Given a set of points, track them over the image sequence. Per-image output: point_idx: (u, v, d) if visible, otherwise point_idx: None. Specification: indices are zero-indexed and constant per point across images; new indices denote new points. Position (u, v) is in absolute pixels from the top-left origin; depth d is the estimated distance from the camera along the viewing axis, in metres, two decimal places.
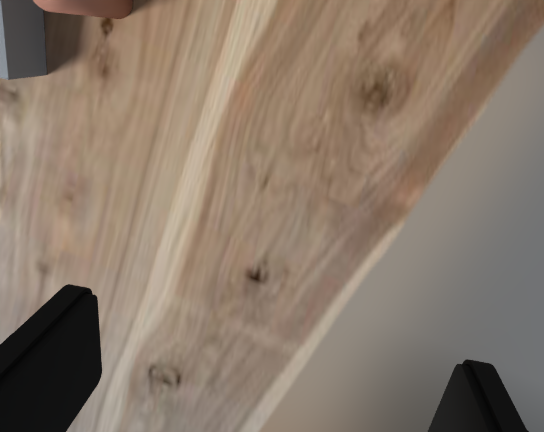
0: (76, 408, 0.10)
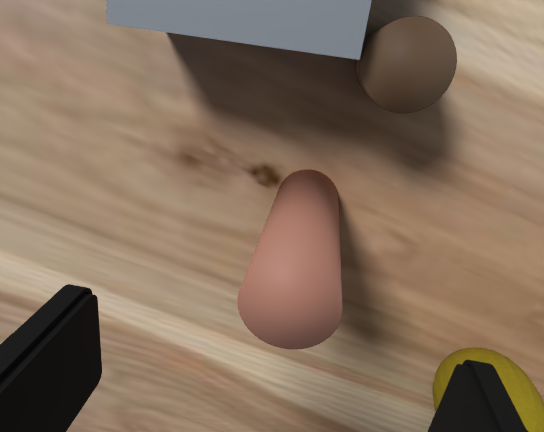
0: (76, 408, 0.10)
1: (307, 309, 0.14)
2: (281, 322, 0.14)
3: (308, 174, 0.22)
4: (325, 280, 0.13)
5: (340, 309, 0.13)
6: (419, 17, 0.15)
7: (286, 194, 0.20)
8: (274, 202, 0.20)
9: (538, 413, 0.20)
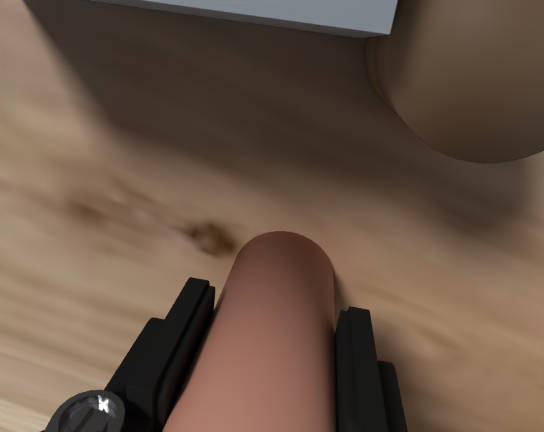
0: None
1: None
2: None
3: (281, 244, 0.13)
4: None
5: None
6: None
7: (234, 302, 0.10)
8: (215, 309, 0.11)
9: None
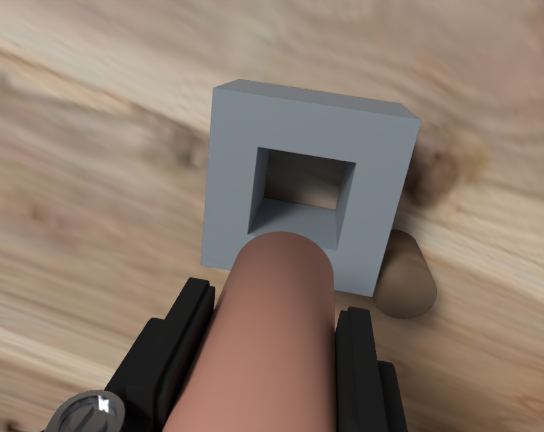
0: None
1: None
2: None
3: (281, 244, 0.13)
4: None
5: None
6: (411, 267, 0.23)
7: (233, 302, 0.10)
8: (214, 309, 0.11)
9: None
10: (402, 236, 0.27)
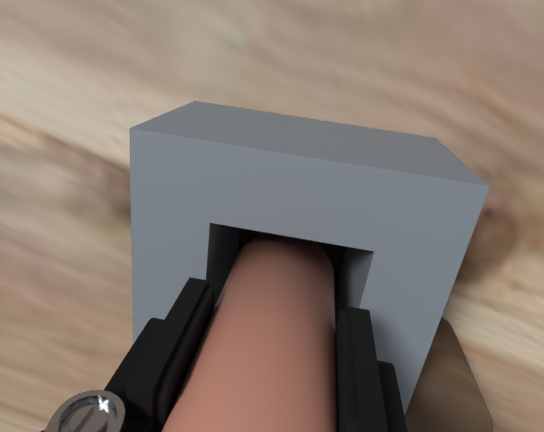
0: None
1: None
2: None
3: (281, 244, 0.13)
4: None
5: None
6: (456, 394, 0.15)
7: (233, 301, 0.10)
8: (214, 308, 0.11)
9: None
10: None
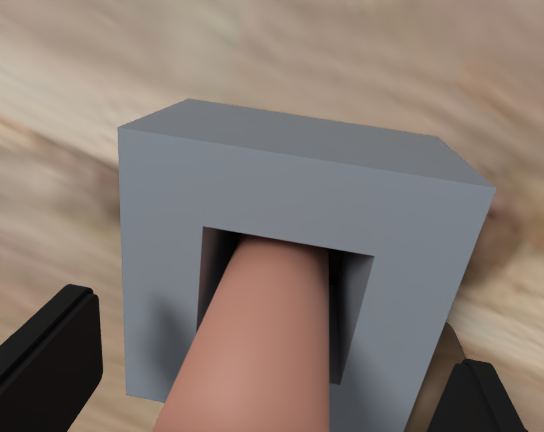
0: (77, 408, 0.10)
1: None
2: None
3: None
4: (298, 426, 0.07)
5: None
6: None
7: None
8: (238, 242, 0.15)
9: None
10: None
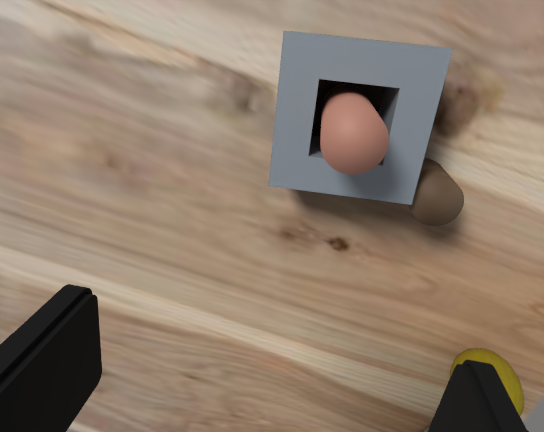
0: (76, 408, 0.10)
1: (366, 143, 0.21)
2: (348, 154, 0.22)
3: (347, 85, 0.30)
4: (378, 120, 0.21)
5: (387, 141, 0.21)
6: (443, 179, 0.28)
7: (335, 94, 0.27)
8: (325, 102, 0.28)
9: (515, 389, 0.33)
10: (431, 162, 0.31)
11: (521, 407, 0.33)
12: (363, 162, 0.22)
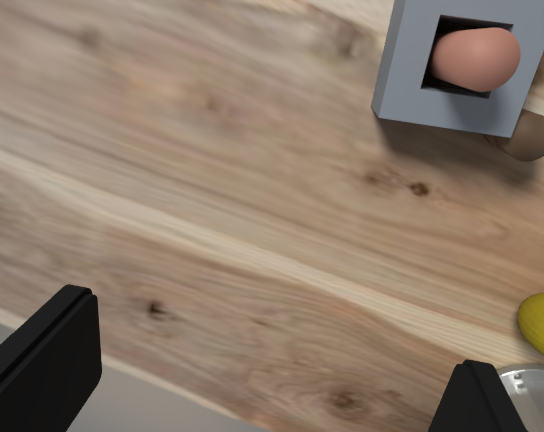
0: (76, 408, 0.10)
1: (498, 61, 0.24)
2: (481, 72, 0.24)
3: None
4: (513, 39, 0.23)
5: (519, 59, 0.24)
6: (540, 115, 0.30)
7: (445, 34, 0.30)
8: (433, 43, 0.31)
9: None
10: None
11: None
12: (493, 79, 0.24)
